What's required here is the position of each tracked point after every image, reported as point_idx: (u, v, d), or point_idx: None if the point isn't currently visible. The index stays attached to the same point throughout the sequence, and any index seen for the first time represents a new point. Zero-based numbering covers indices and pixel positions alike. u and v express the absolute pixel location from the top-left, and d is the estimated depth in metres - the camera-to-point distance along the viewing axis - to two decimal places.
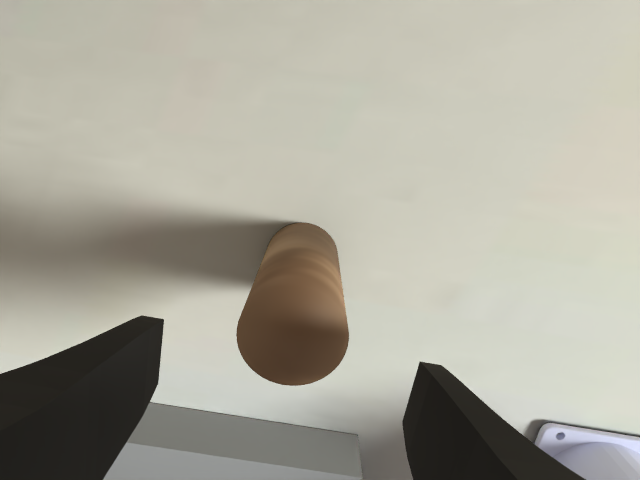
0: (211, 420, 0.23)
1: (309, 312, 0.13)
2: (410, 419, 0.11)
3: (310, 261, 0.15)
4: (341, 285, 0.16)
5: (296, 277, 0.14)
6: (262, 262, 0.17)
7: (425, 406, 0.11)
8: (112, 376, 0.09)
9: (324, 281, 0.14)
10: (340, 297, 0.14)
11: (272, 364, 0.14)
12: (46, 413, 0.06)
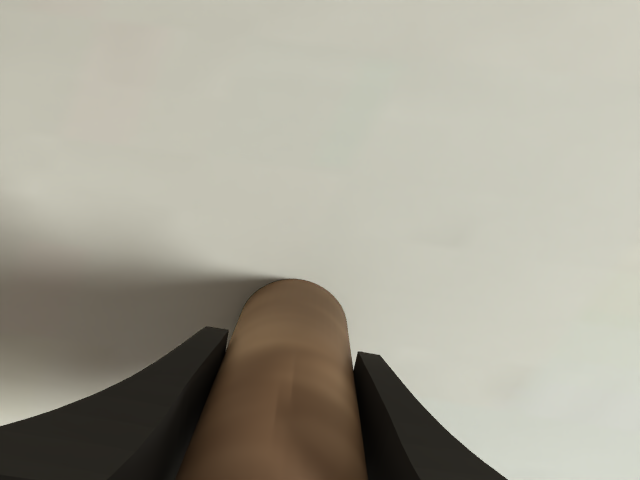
0: None
1: None
2: None
3: (302, 389, 0.08)
4: (358, 418, 0.09)
5: (269, 457, 0.06)
6: (221, 365, 0.10)
7: (358, 395, 0.11)
8: (195, 389, 0.09)
9: (327, 451, 0.07)
10: (361, 477, 0.07)
11: None
12: (159, 430, 0.07)
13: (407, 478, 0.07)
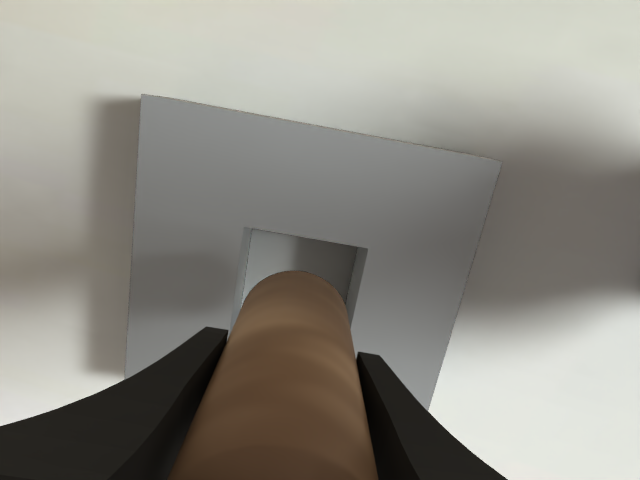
0: None
1: None
2: None
3: (310, 362, 0.08)
4: (362, 398, 0.09)
5: (281, 415, 0.06)
6: (227, 345, 0.10)
7: None
8: (195, 389, 0.09)
9: (337, 416, 0.07)
10: (368, 446, 0.07)
11: None
12: (158, 430, 0.07)
13: (407, 478, 0.07)
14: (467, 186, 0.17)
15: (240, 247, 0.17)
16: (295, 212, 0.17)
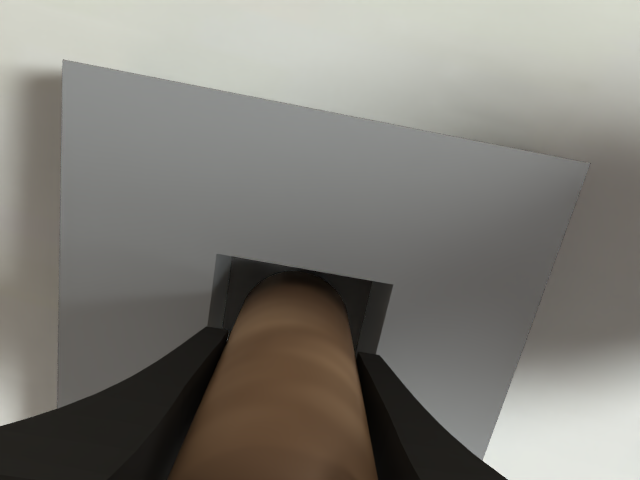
0: None
1: None
2: None
3: (310, 362, 0.08)
4: (362, 399, 0.09)
5: (280, 416, 0.06)
6: (226, 345, 0.10)
7: None
8: (195, 389, 0.09)
9: (337, 417, 0.07)
10: (367, 447, 0.07)
11: None
12: (159, 430, 0.07)
13: (407, 478, 0.07)
14: (537, 198, 0.12)
15: (212, 281, 0.12)
16: (291, 234, 0.12)
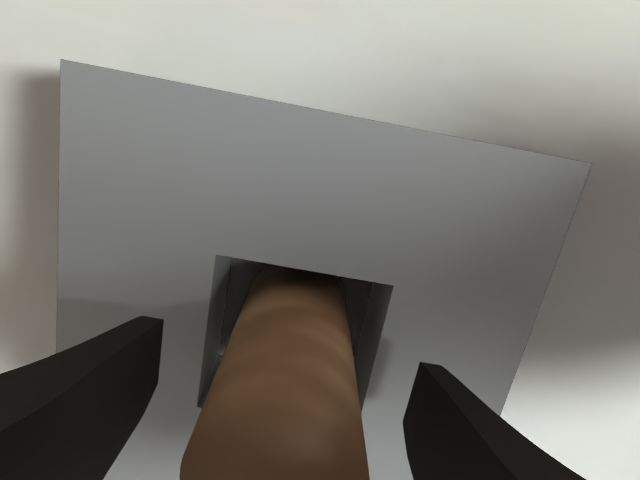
0: None
1: (304, 446, 0.08)
2: (410, 419, 0.11)
3: (309, 338, 0.10)
4: (354, 368, 0.11)
5: (284, 381, 0.08)
6: (237, 322, 0.12)
7: (425, 406, 0.11)
8: (112, 376, 0.09)
9: (330, 383, 0.09)
10: (355, 406, 0.09)
11: None
12: (46, 413, 0.06)
13: None
14: (538, 199, 0.12)
15: (211, 282, 0.12)
16: (291, 235, 0.12)
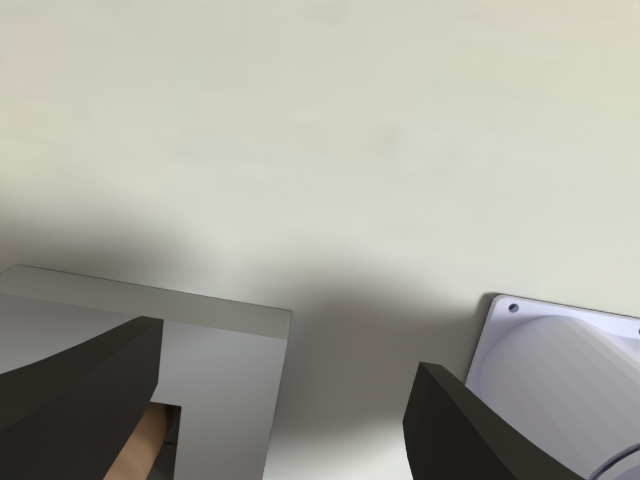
0: (127, 288, 0.21)
1: None
2: (410, 419, 0.11)
3: None
4: (142, 462, 0.19)
5: None
6: None
7: (425, 406, 0.11)
8: (112, 376, 0.09)
9: None
10: None
11: None
12: (46, 413, 0.06)
13: None
14: (260, 359, 0.19)
15: None
16: None
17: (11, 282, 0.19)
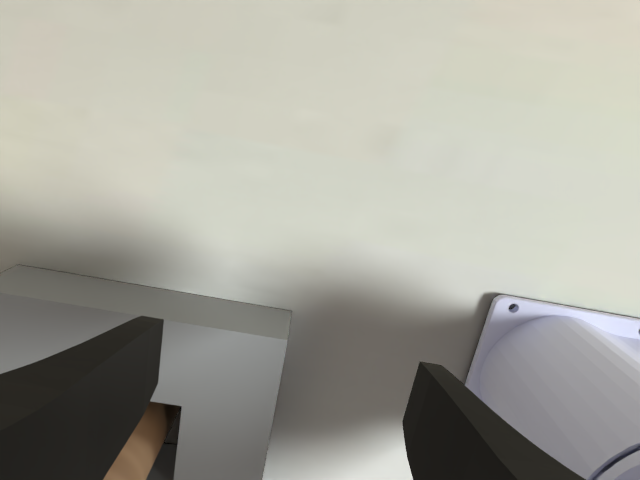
0: (127, 288, 0.21)
1: None
2: (410, 419, 0.11)
3: None
4: (142, 462, 0.19)
5: None
6: None
7: (425, 406, 0.11)
8: (112, 376, 0.09)
9: None
10: None
11: None
12: (46, 413, 0.06)
13: None
14: (260, 359, 0.19)
15: None
16: None
17: (11, 282, 0.19)
